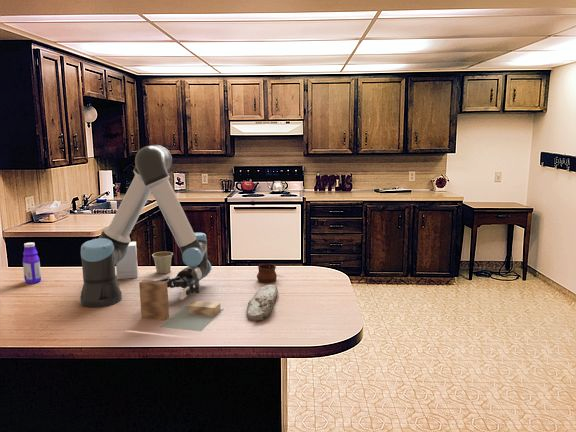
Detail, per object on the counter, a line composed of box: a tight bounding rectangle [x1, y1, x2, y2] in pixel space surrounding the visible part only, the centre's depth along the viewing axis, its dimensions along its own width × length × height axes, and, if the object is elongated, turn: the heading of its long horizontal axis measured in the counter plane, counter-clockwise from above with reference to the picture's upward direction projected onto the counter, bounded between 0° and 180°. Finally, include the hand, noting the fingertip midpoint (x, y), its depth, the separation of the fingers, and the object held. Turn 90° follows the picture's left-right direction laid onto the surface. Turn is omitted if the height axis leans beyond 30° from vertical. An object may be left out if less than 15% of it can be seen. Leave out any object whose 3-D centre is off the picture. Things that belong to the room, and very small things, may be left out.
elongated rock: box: [245, 283, 279, 322], centre depth 182 cm, size 35×5×10 cm
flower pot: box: [151, 251, 174, 275], centre depth 224 cm, size 9×9×9 cm
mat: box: [159, 305, 224, 332], centre depth 169 cm, size 15×20×1 cm
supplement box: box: [115, 241, 139, 280], centre depth 218 cm, size 9×9×15 cm
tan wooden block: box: [188, 300, 222, 317], centre depth 173 cm, size 10×5×3 cm, turn 76°
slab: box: [138, 279, 170, 321], centre depth 168 cm, size 9×3×14 cm, turn 76°
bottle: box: [22, 242, 42, 284], centre depth 210 cm, size 7×6×17 cm
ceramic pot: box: [256, 263, 283, 284], centre depth 210 cm, size 18×18×7 cm
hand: (163, 294), depth 172 cm, fingers open, 13 cm apart
